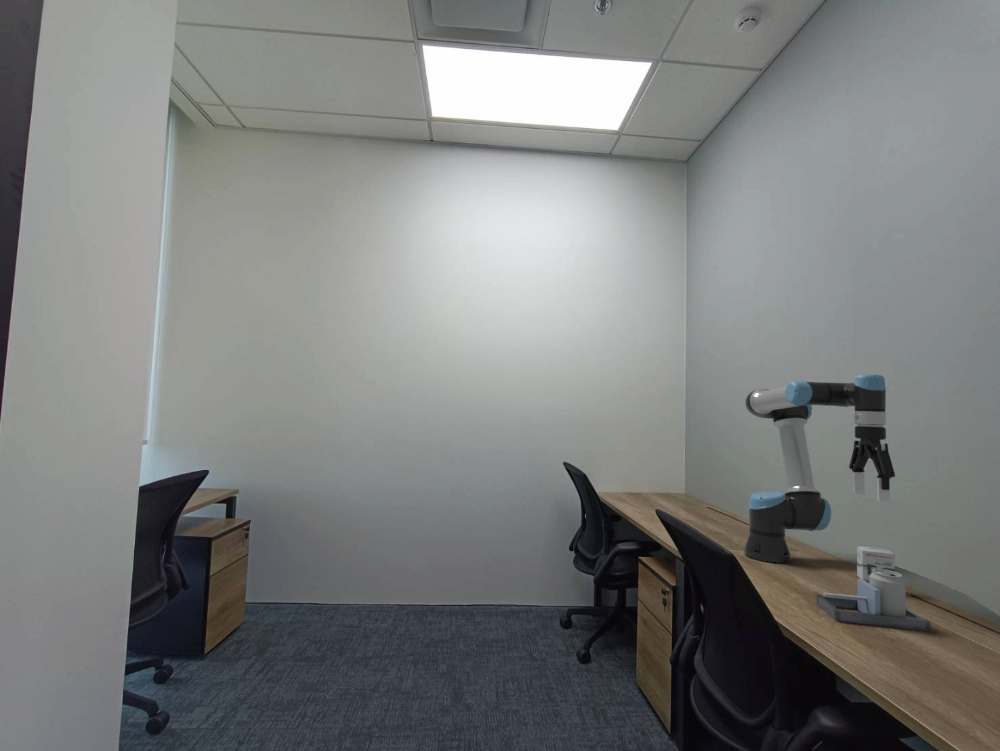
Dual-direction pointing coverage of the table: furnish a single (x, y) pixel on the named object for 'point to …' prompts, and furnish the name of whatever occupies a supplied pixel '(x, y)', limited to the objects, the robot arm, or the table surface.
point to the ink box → (873, 561)
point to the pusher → (863, 597)
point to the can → (890, 592)
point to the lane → (870, 615)
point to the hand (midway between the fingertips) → (870, 497)
